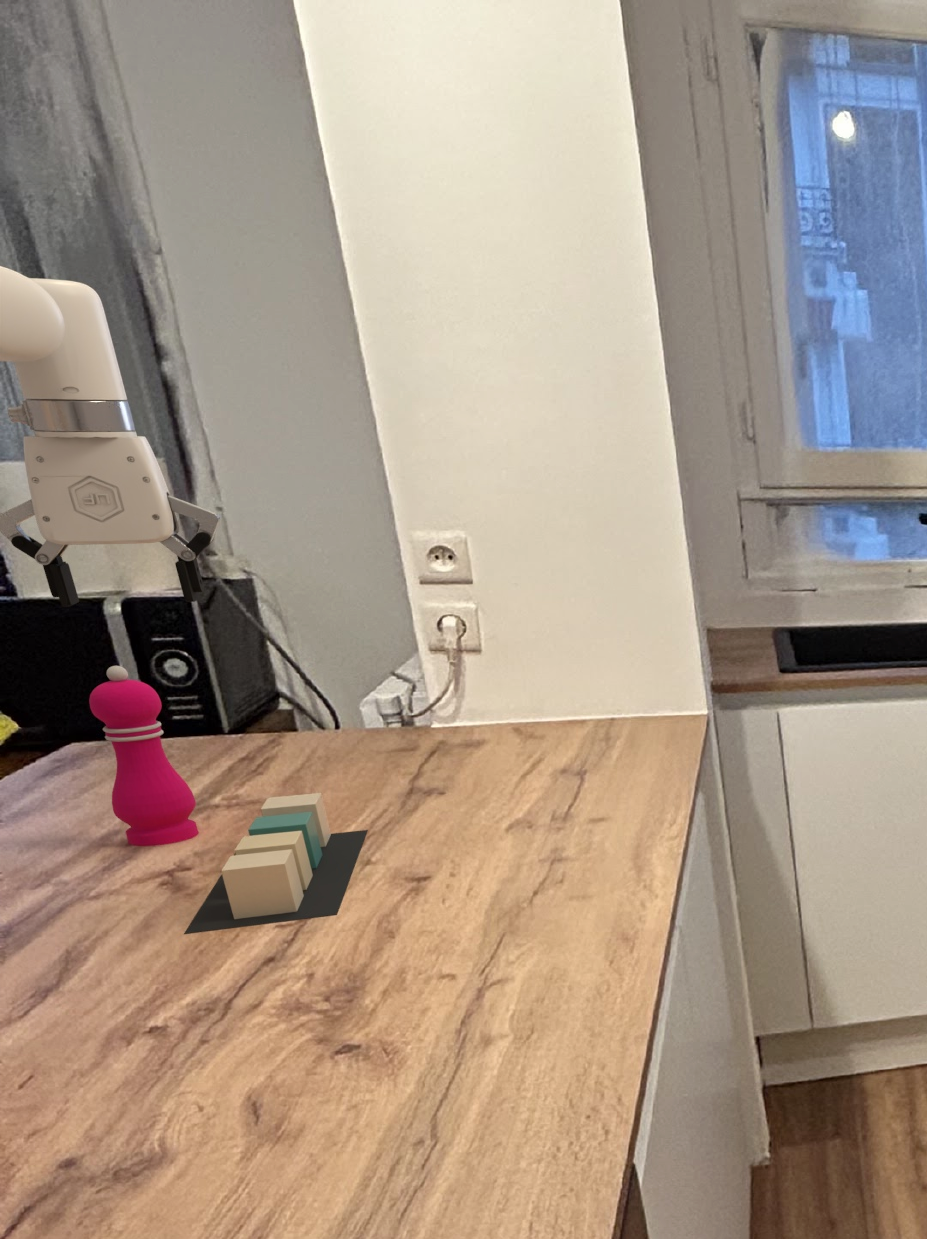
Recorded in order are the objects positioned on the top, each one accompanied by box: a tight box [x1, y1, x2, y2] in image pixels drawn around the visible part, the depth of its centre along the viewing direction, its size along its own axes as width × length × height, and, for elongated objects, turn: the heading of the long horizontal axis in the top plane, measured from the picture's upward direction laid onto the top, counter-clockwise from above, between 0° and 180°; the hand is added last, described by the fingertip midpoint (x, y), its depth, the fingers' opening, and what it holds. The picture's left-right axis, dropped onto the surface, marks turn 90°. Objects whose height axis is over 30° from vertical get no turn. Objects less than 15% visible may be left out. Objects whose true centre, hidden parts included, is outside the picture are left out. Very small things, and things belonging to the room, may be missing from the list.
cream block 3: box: [220, 849, 304, 919], centre depth 133 cm, size 5×5×5 cm
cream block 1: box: [260, 792, 332, 847], centre depth 152 cm, size 5×5×5 cm
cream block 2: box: [233, 831, 313, 890], centre depth 138 cm, size 5×5×5 cm
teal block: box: [247, 812, 322, 869], centre depth 145 cm, size 5×5×5 cm
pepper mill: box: [88, 665, 199, 847], centre depth 150 cm, size 7×7×20 cm
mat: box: [183, 829, 369, 935], centre depth 142 cm, size 12×31×1 cm, turn 28°
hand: (132, 602), depth 135 cm, fingers open, 9 cm apart
